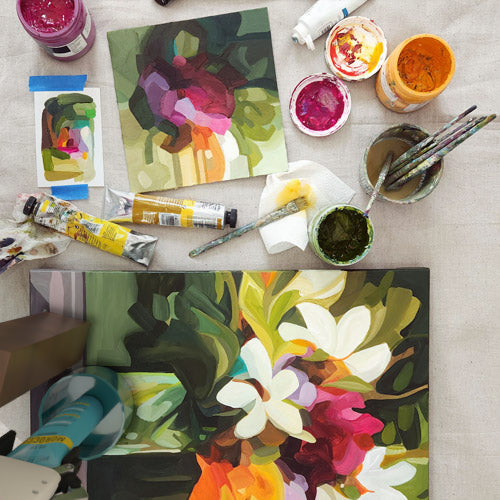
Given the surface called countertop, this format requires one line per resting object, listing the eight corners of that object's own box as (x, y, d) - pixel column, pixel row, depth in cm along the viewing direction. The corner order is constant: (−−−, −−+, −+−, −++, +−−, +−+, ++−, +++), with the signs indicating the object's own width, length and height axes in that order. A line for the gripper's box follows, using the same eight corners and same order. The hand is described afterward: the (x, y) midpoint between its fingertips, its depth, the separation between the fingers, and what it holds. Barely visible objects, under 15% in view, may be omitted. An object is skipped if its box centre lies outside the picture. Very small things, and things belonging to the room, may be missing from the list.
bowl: (45, 435, 69) (29, 449, 64) (65, 356, 69) (50, 363, 64) (123, 455, 69) (112, 470, 64) (142, 375, 69) (134, 384, 64)
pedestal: (36, 349, 69) (-72, 394, 46) (46, 311, 69) (-57, 335, 46) (81, 361, 69) (-4, 410, 46) (90, 322, 69) (10, 352, 46)
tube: (108, 391, 68) (52, 443, 48) (114, 423, 68) (60, 489, 48) (59, 399, 68) (-18, 455, 48) (64, 432, 67) (-10, 501, 48)
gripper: (-181, 566, 36) (-37, 464, 53) (36, 620, 36) (108, 500, 53) (-156, 471, 36) (-21, 401, 54) (60, 525, 36) (123, 436, 54)
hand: (42, 451), depth 53 cm, fingers closed on tube, 7 cm apart
